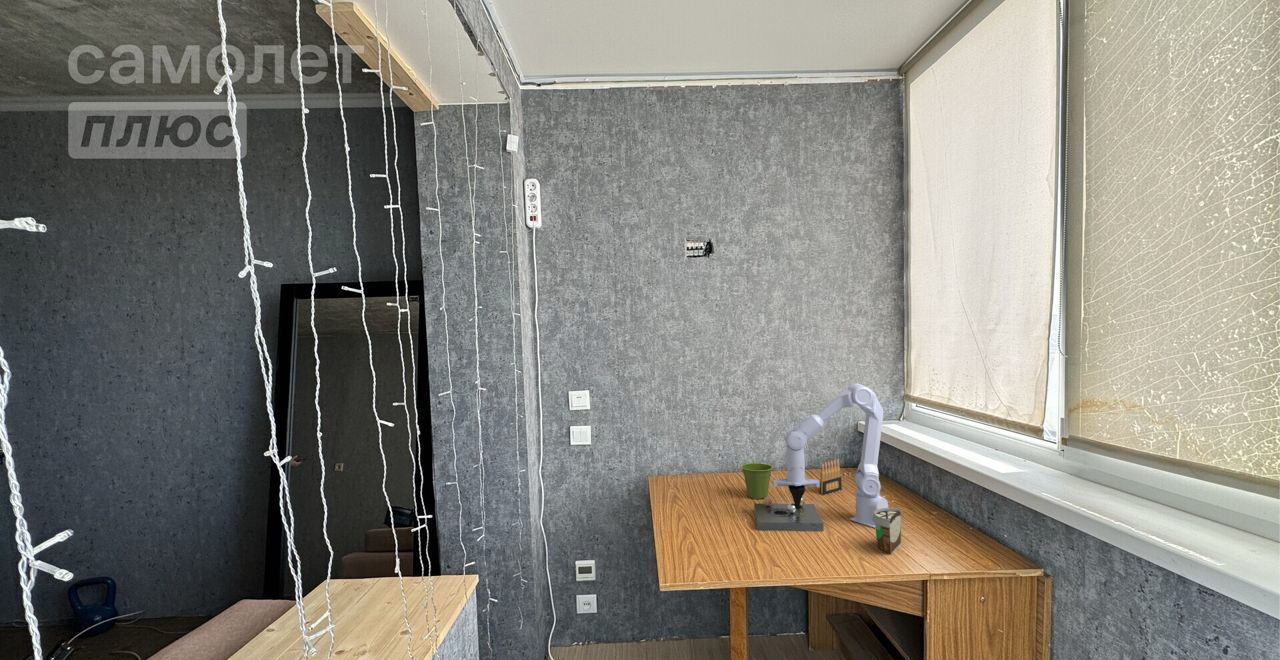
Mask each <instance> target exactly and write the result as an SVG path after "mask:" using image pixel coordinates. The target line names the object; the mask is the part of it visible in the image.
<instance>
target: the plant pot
mask: <svg viewBox="0 0 1280 660" xmlns="http://www.w3.org/2000/svg"><path fill="white" fill-rule="evenodd" d="M740 468H741V469H742V474H743V475H744V476H743V477H744V482H745V486H746V492H747V493H746V494H747V497H749V498H750V499H752V500H754V499H756V500H761V499H764V498H765V497H768V495H769V487H770V482H771V475H772V470H773V469H774V466H773V465H772V464H768V463H761V462H750V463H749V462H748V463H744V464H741V466H740Z"/></svg>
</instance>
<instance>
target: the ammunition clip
mask: <svg viewBox="0 0 1280 660" xmlns="http://www.w3.org/2000/svg"><path fill="white" fill-rule="evenodd" d="M819 481H820V487H819V494H820V495H821V494H822V496H826V495H825V494H827V495H830V494H833V493H835V492H836V491H837V492H840V491H842V490H843V488H842V476H841V468H840V461H839V458H836V459H833V460H832V459H831V460H830V461H829V460H827V461H824V463H823V462H821V464H820V480H819ZM839 490H840V491H839ZM832 492H833V493H832ZM829 493H830V494H829Z"/></svg>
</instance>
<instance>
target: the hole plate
mask: <svg viewBox="0 0 1280 660" xmlns="http://www.w3.org/2000/svg"><path fill="white" fill-rule="evenodd" d="M788 504H789V503H772V504H771V505H770V506H766V505H765V504H764V502H763V503H762V502H761V503H758V502H757V503H753V506H754V507H753V509H754V510H753V511H754V516H755V521H756V527H757V531H764V532H765V531H769V532H771V531H772V532H773V531H779V532H780V531H781V532H783V531H784V532H824V531H825V529H824V528H825V527H824V522H823V520H822V517H821V516H820V514H819V511H818V510H817V508H816V506H815V504H814V503H804V505H803V506H799V509H797V510H796V512H795V513H790V512H788V510H787V505H788Z"/></svg>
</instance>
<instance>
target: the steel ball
mask: <svg viewBox="0 0 1280 660" xmlns="http://www.w3.org/2000/svg"><path fill="white" fill-rule="evenodd" d="M787 504H788V505H787V510H788V512H790V513H795V512H796V510H797V509H796V507H795V504H794V502H790V503H787Z"/></svg>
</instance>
